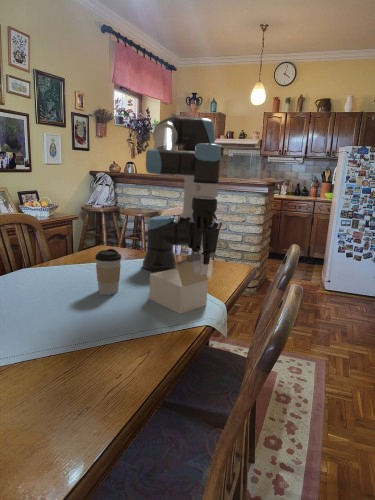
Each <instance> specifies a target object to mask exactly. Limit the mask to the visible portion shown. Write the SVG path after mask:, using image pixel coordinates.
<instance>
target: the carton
mask: <svg viewBox="0 0 375 500" xmlns="http://www.w3.org/2000/svg"><path fill="white" fill-rule="evenodd" d="M208 285H209V279H208V280H206V281H203V282H199V283H195V284H191V285H188V286H184V287H183V286H182V283H181V280H180V276H179V273H178V270H177V268H176V269H171V270H166V271H161V272H152V273H150V274H149V300H150V301H153V302H155V303H157V304H159V305H161V306H163V307H166V308H167V309H169V310H172V311H173V312H175V313H178V314H179V315H181V314H184V313H187V312H191V311H193V310H196V309H199V308H202V307H205V306H207V301H208V287H209V286H208Z"/></svg>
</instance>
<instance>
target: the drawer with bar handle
mask: <svg viewBox="0 0 375 500" xmlns="http://www.w3.org/2000/svg"><path fill="white" fill-rule="evenodd" d="M202 253H203V251H202ZM215 257H216V252H215V253H211V254H210V259H212V258H215ZM200 259H201V253H197V254H193V253H192V254H188V255H187V256H186V258H185V259H183V260H179V261H176V262H175V263H176V269H177V270H178V273H179V276H180V280H181V283H182V286H183V287H184V286H188V285H191V284H195V283H199V282H203V281H206V280H208V281H209V278H208V275H207V274H203V275H200V272H195V273H194V272H193V264H194V261H198V260H200Z"/></svg>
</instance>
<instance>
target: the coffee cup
mask: <svg viewBox="0 0 375 500" xmlns="http://www.w3.org/2000/svg"><path fill="white" fill-rule="evenodd" d="M94 259H95V264H96V265H95V269H96V280H97V287H98V293H99V292H100V294H101V293H102V295H106V294H110V295H114V293H115V294H118V293H119V285H120V277H121V266H122V264H121V261H122V255H121V253H119V251H118V250H116V249H114V248H108V249H104V250H99V251H98V252H97V253H96V254H95V258H94Z"/></svg>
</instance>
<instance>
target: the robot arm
mask: <svg viewBox="0 0 375 500" xmlns="http://www.w3.org/2000/svg"><path fill="white" fill-rule="evenodd" d="M214 127H215V126H214V122H213V120H211V118H210V119H209V118H207V117H206V118H205V117H194V116H193V117H191V116H190V117H189V116H178V115H176V116H171V117H167V118H165V119H163V120H161V121H159V122H158V123H157V124H156V125H155V127H154V129H153V133H152V139H153V141H154V145H153V149H151V148H150V149H147V150H146V153H145V171H146V172H147V173H148V174H152V175H153V174H155V175H171V176H173V175H174V176H184V184H183V186H184V188H183V206H182V212H181V213H180V214H179V216H178V218H175V215H172V214H171V215H166V214H165V215H157V216H152V217H150V218H149V219H148V220H147V228H146V230H147V235H146V237H147V240H146V241H147V243H146V253H145V256H144V259H143V261H142V268H143V269H144V270H147V271H151V272H154V273H157V272H161V271H166V270H171V269H177V266H176V263H175V262H177V261H176V258H175V253H174V246H185V247H186V246H187V247H188V249H191V251H192V254H197V253H201V259H200V260H198V261H194V264H193V272H194V273H195V272H200V275H203V274H206V275H207V274H208V271H209V270H208V269H209V268H208V267H209V264H210V259H211V258H210V254H211V253H216V252H217V251H216V250H217V246H218V240H219V235H220V230H221V227H222V225H223V223H222V222H221V221H218V220H217V219H216V218H217V217H216V213H215V212H217V210H218V199H217V198H218V196H219V180H220V178H219V177H220V169H221V158H222V155H221V154H222V153H221V152H222V149H221V146H220V144H217V143H215V141H216V140H215V136H216V135H215V128H214ZM176 147H182V150H176ZM201 247H202V248H201ZM202 252H203V253H202Z"/></svg>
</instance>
